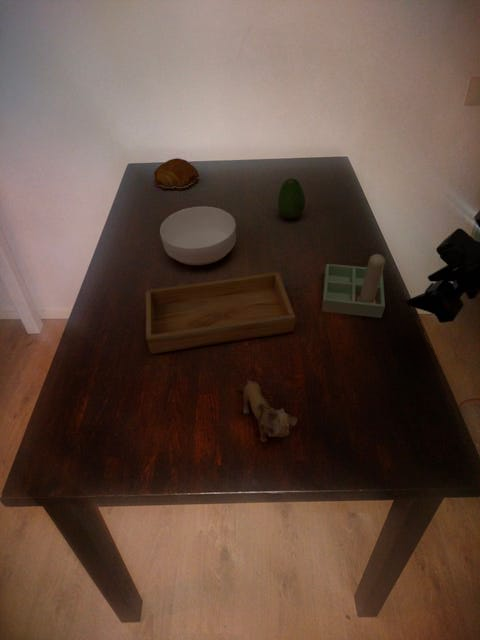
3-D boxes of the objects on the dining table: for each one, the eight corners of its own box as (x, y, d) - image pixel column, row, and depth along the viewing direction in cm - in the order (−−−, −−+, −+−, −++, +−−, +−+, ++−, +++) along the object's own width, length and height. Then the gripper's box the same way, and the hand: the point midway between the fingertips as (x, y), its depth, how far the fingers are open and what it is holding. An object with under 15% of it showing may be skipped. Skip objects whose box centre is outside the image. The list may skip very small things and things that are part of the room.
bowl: (238, 231, 111) (236, 204, 105) (236, 274, 97) (234, 247, 91) (171, 233, 112) (165, 207, 106) (160, 276, 98) (153, 249, 92)
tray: (277, 288, 93) (278, 270, 89) (294, 333, 83) (295, 315, 79) (151, 307, 91) (145, 289, 86) (151, 356, 80) (145, 339, 76)
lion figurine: (298, 442, 66) (302, 415, 59) (274, 459, 64) (275, 434, 57) (248, 384, 74) (247, 355, 68) (226, 398, 72) (222, 370, 66)
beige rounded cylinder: (378, 306, 86) (392, 258, 77) (362, 311, 85) (375, 263, 76) (368, 295, 89) (381, 247, 79) (353, 299, 88) (364, 252, 78)
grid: (379, 280, 94) (382, 268, 91) (381, 318, 85) (385, 306, 82) (324, 274, 96) (326, 263, 93) (321, 311, 87) (323, 299, 85)
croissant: (150, 190, 135) (142, 169, 129) (181, 167, 141) (174, 147, 135) (178, 201, 128) (171, 179, 122) (209, 177, 134) (204, 155, 128)
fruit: (309, 220, 113) (313, 181, 105) (285, 227, 111) (287, 188, 103) (295, 207, 118) (297, 170, 110) (272, 214, 116) (273, 176, 108)
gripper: (503, 201, 64) (420, 233, 77) (458, 253, 55) (373, 280, 68) (531, 257, 66) (445, 279, 79) (493, 316, 57) (403, 330, 70)
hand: (418, 290), depth 74 cm, fingers open, 9 cm apart
